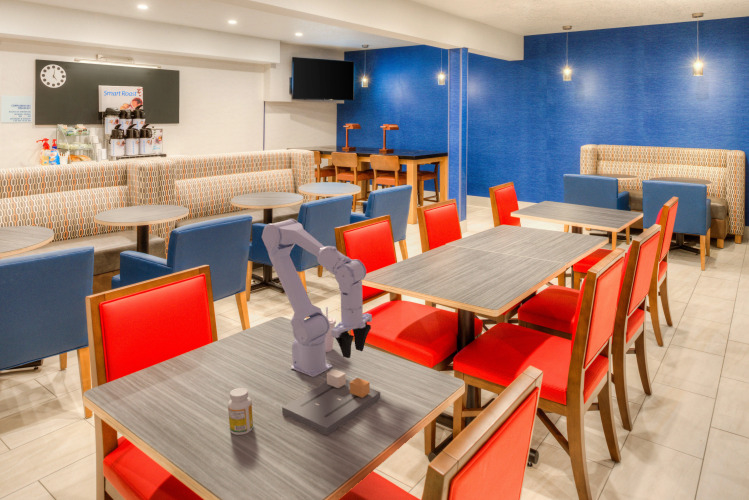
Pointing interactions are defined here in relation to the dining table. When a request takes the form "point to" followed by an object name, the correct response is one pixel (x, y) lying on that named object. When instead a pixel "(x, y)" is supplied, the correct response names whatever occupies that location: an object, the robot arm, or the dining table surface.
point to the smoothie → (329, 333)
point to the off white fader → (336, 378)
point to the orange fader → (359, 387)
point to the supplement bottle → (240, 412)
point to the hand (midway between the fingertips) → (353, 353)
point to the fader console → (328, 407)
